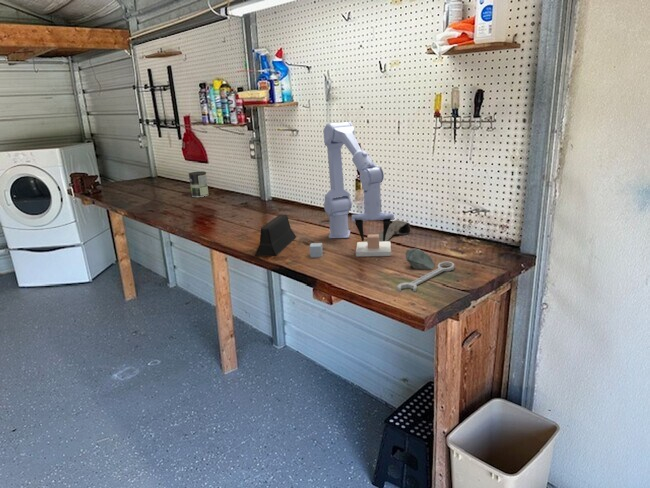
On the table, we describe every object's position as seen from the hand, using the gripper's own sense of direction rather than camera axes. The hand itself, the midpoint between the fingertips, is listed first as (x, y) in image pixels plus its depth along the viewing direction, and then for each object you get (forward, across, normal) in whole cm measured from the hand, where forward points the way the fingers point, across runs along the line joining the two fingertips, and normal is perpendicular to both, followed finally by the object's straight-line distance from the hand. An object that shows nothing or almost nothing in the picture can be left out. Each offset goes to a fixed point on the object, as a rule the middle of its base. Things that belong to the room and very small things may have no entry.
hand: (373, 240), depth 167 cm
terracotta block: (+2, 0, 0) cm, 2 cm away
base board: (+4, 0, 0) cm, 4 cm away
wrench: (+5, +16, -27) cm, 32 cm away
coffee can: (+4, -108, +114) cm, 157 cm away
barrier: (+4, -37, +8) cm, 38 cm away
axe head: (+5, +6, +17) cm, 18 cm away
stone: (+4, +16, -15) cm, 22 cm away
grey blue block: (+4, -20, -4) cm, 21 cm away
